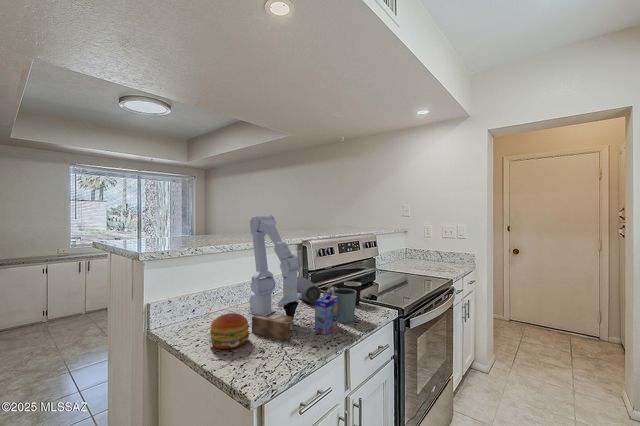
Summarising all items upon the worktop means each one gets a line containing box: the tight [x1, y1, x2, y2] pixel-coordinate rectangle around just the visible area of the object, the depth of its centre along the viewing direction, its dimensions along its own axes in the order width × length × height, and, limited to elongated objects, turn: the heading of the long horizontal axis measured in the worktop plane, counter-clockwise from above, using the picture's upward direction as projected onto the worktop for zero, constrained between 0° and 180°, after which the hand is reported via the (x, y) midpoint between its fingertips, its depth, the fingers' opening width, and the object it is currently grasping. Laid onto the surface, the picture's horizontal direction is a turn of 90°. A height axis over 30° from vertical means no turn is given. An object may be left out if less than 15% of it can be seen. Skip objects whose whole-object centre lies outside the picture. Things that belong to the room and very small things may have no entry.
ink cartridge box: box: [314, 292, 339, 336], centre depth 114 cm, size 10×6×14 cm, turn 149°
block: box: [267, 313, 293, 331], centre depth 113 cm, size 8×7×5 cm
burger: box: [208, 312, 250, 350], centre depth 103 cm, size 13×14×10 cm
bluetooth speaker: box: [297, 276, 322, 303], centre depth 154 cm, size 23×9×10 cm, turn 23°
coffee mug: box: [336, 281, 362, 307], centre depth 146 cm, size 12×9×10 cm
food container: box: [322, 285, 339, 297], centre depth 135 cm, size 12×6×10 cm, turn 168°
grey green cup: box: [332, 287, 357, 324], centre depth 125 cm, size 10×10×12 cm
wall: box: [251, 314, 291, 342], centre depth 109 cm, size 16×2×6 cm, turn 62°
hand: (290, 319), depth 120 cm, fingers closed
